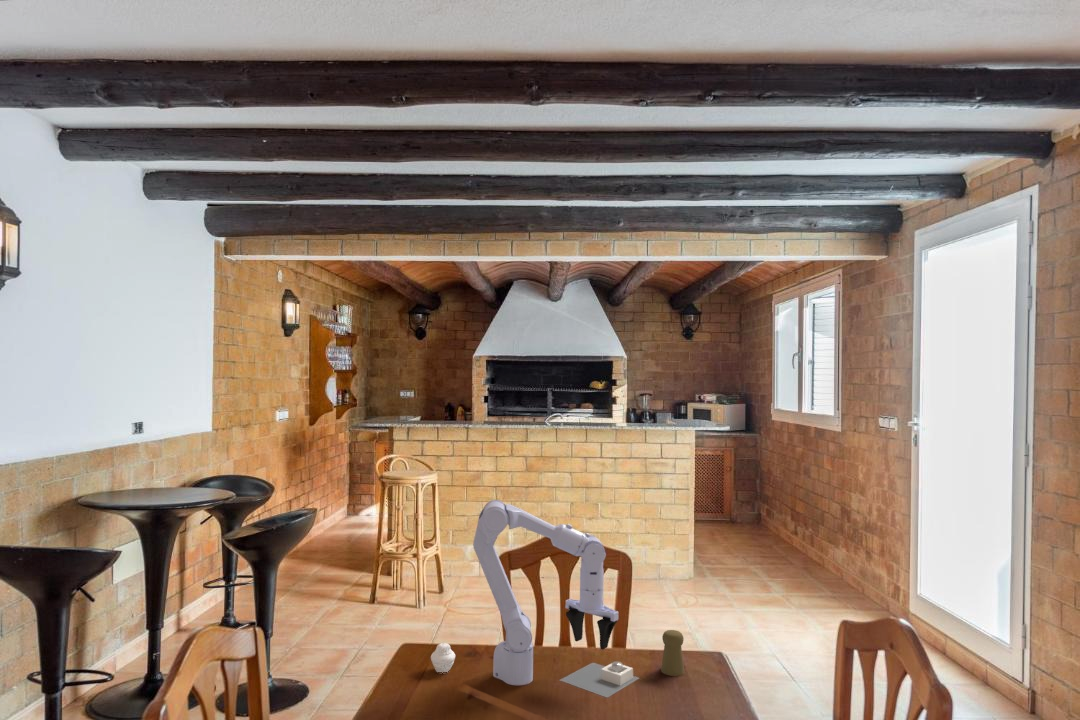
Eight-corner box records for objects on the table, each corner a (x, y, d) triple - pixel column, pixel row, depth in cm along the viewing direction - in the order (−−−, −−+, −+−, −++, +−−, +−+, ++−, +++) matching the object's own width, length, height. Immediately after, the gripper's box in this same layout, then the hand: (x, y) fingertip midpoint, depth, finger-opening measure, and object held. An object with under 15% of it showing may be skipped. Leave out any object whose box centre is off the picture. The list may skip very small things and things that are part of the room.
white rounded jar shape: (449, 664, 182) (449, 636, 182) (459, 673, 176) (459, 644, 176) (426, 668, 178) (427, 641, 179) (435, 678, 173) (436, 649, 173)
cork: (684, 682, 173) (685, 636, 173) (659, 679, 174) (660, 634, 174) (684, 672, 179) (685, 628, 179) (660, 669, 180) (661, 626, 180)
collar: (600, 679, 171) (601, 669, 171) (613, 671, 175) (613, 662, 175) (620, 685, 167) (620, 675, 168) (632, 678, 172) (633, 668, 172)
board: (559, 685, 170) (559, 680, 170) (592, 667, 181) (592, 662, 181) (607, 702, 161) (607, 697, 161) (639, 682, 172) (639, 677, 172)
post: (609, 678, 171) (609, 663, 171) (615, 675, 173) (615, 660, 173) (618, 681, 170) (618, 666, 170) (624, 678, 172) (624, 663, 172)
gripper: (625, 590, 170) (625, 646, 170) (577, 578, 180) (576, 632, 179) (609, 596, 165) (608, 655, 165) (560, 584, 174) (559, 640, 174)
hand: (591, 644), depth 172 cm, fingers open, 7 cm apart
